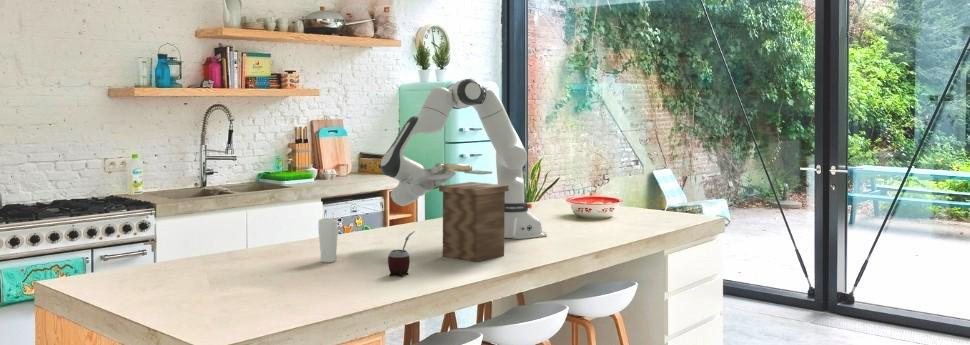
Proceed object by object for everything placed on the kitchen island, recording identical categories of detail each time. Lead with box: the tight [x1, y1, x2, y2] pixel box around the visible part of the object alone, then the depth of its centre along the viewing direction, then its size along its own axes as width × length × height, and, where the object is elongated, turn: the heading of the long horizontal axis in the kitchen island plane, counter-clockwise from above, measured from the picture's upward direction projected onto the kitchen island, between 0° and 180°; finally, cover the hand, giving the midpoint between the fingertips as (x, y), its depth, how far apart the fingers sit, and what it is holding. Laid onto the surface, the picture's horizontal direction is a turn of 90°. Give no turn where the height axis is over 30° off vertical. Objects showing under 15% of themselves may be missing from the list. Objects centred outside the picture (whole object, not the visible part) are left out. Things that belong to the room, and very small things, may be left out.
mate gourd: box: [387, 230, 416, 278], centre depth 286 cm, size 8×8×15 cm
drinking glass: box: [317, 217, 339, 264], centre depth 308 cm, size 7×7×15 cm
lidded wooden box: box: [438, 181, 509, 263], centre depth 319 cm, size 18×18×26 cm
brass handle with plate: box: [434, 162, 493, 175], centre depth 321 cm, size 24×6×3 cm, turn 51°
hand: (445, 165), depth 326 cm, fingers closed on brass handle with plate, 3 cm apart
